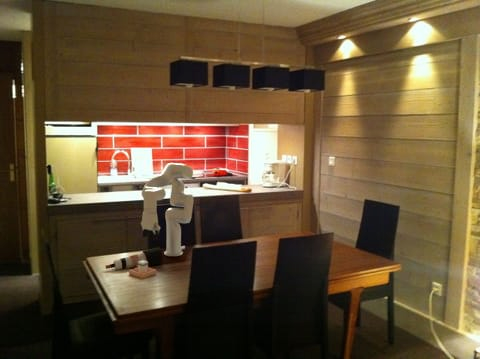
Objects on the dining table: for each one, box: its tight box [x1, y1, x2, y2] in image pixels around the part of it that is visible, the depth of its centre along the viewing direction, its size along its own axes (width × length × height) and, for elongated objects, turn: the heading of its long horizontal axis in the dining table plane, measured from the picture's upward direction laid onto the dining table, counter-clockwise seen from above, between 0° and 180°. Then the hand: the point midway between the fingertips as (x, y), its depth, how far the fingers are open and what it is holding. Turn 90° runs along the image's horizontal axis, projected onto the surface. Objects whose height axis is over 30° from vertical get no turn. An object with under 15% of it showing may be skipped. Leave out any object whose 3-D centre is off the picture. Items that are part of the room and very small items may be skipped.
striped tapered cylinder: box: [105, 246, 164, 271], centre depth 275 cm, size 10×34×10 cm, turn 115°
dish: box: [128, 266, 157, 280], centre depth 263 cm, size 11×11×3 cm
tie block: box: [137, 260, 149, 274], centre depth 263 cm, size 4×4×7 cm
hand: (150, 238), depth 269 cm, fingers open, 9 cm apart
